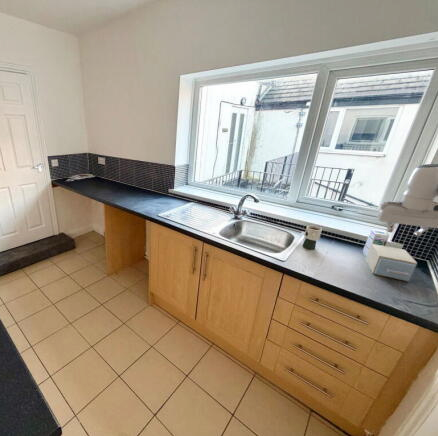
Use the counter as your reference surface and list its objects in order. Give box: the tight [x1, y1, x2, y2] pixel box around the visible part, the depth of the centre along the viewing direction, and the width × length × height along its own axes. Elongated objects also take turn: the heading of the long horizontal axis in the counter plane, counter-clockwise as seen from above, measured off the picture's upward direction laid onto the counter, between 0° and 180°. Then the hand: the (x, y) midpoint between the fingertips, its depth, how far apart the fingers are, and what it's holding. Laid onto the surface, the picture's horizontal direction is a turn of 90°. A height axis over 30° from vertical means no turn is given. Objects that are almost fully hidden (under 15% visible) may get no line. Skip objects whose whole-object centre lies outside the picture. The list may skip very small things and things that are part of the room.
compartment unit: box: [365, 244, 418, 283], centre depth 116 cm, size 15×13×10 cm
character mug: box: [302, 224, 323, 251], centre depth 136 cm, size 11×7×13 cm, turn 148°
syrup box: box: [362, 229, 390, 258], centre depth 128 cm, size 6×6×14 cm
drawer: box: [375, 258, 416, 282], centre depth 113 cm, size 18×11×8 cm, turn 150°
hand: (402, 233), depth 106 cm, fingers open, 8 cm apart
